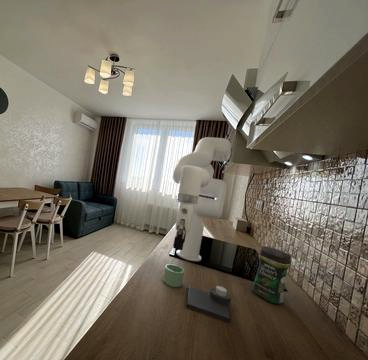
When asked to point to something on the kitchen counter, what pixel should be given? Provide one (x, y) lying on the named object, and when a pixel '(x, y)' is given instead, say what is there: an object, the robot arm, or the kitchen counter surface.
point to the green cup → (173, 275)
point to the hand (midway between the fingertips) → (178, 245)
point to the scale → (209, 303)
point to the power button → (221, 291)
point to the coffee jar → (271, 274)
